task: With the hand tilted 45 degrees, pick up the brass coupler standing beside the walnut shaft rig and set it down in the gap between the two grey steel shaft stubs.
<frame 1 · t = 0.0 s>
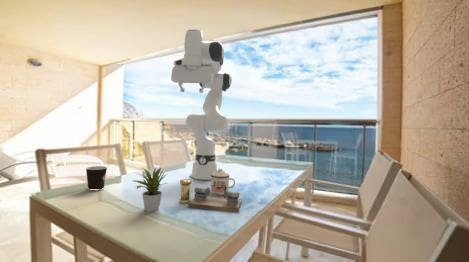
hand: (191, 92, 122), 48 cm above the table, tool pointing down, fingers open, 8 cm apart
teacup with lid: (222, 193, 122), on the table
house plant: (151, 208, 97), on the table
coffee mug: (98, 188, 120), on the table
coupler: (184, 201, 106), on the table
shaft rig: (216, 204, 104), on the table
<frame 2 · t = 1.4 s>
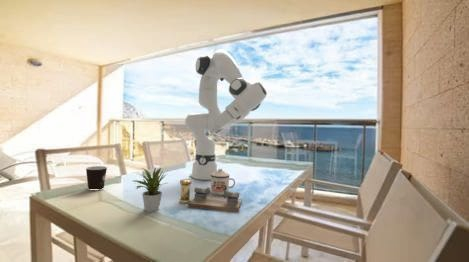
hand: (213, 133, 113), 29 cm above the table, tool tilted 45°, fingers open, 8 cm apart
nothing on the table moved.
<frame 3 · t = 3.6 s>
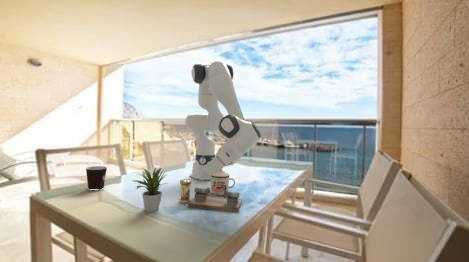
hand: (203, 176, 105), 11 cm above the table, tool tilted 45°, fingers open, 8 cm apart
nothing on the table moved.
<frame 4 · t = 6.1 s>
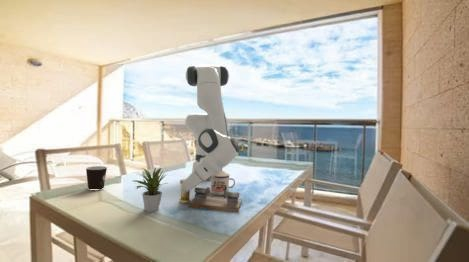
hand: (183, 190, 106), 5 cm above the table, tool tilted 45°, fingers closed on coupler, 4 cm apart
coupler: (184, 201, 106), on the table, touching gripper
everything else where it was.
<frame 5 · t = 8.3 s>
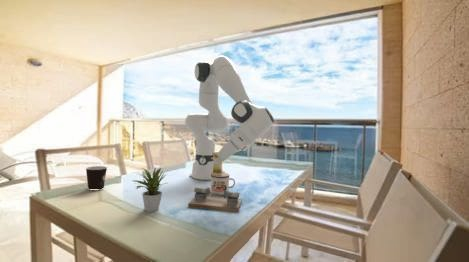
hand: (216, 162, 104), 18 cm above the table, tool tilted 45°, fingers closed on coupler, 4 cm apart
coupler: (217, 174, 104), point 13 cm above the table, touching gripper
everything else where it was.
when the fingers open (7 cm above the table, at t = 10.5 s): coupler stays where it is, resting on shaft rig.
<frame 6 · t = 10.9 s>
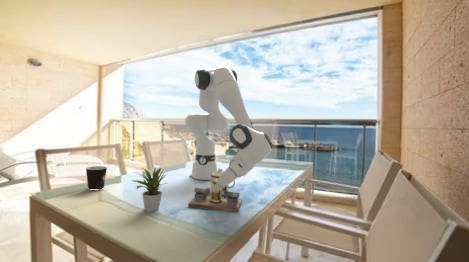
hand: (215, 186, 104), 7 cm above the table, tool tilted 45°, fingers open, 8 cm apart
coupler: (216, 201, 104), point 1 cm above the table, touching shaft rig
everything else where it was.
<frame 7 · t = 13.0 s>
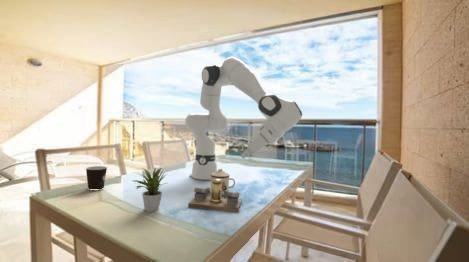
hand: (243, 155, 105), 21 cm above the table, tool tilted 45°, fingers open, 8 cm apart
nothing on the table moved.
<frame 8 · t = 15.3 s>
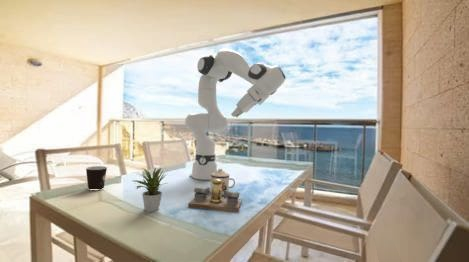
hand: (233, 116, 117), 37 cm above the table, tool tilted 45°, fingers open, 8 cm apart
nothing on the table moved.
at the end: coupler 0.1 cm off-centre on the shaft rig, point 1.5 cm above the shaft rig's base; coupler tilted 0°; the gripper is holding nothing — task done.
